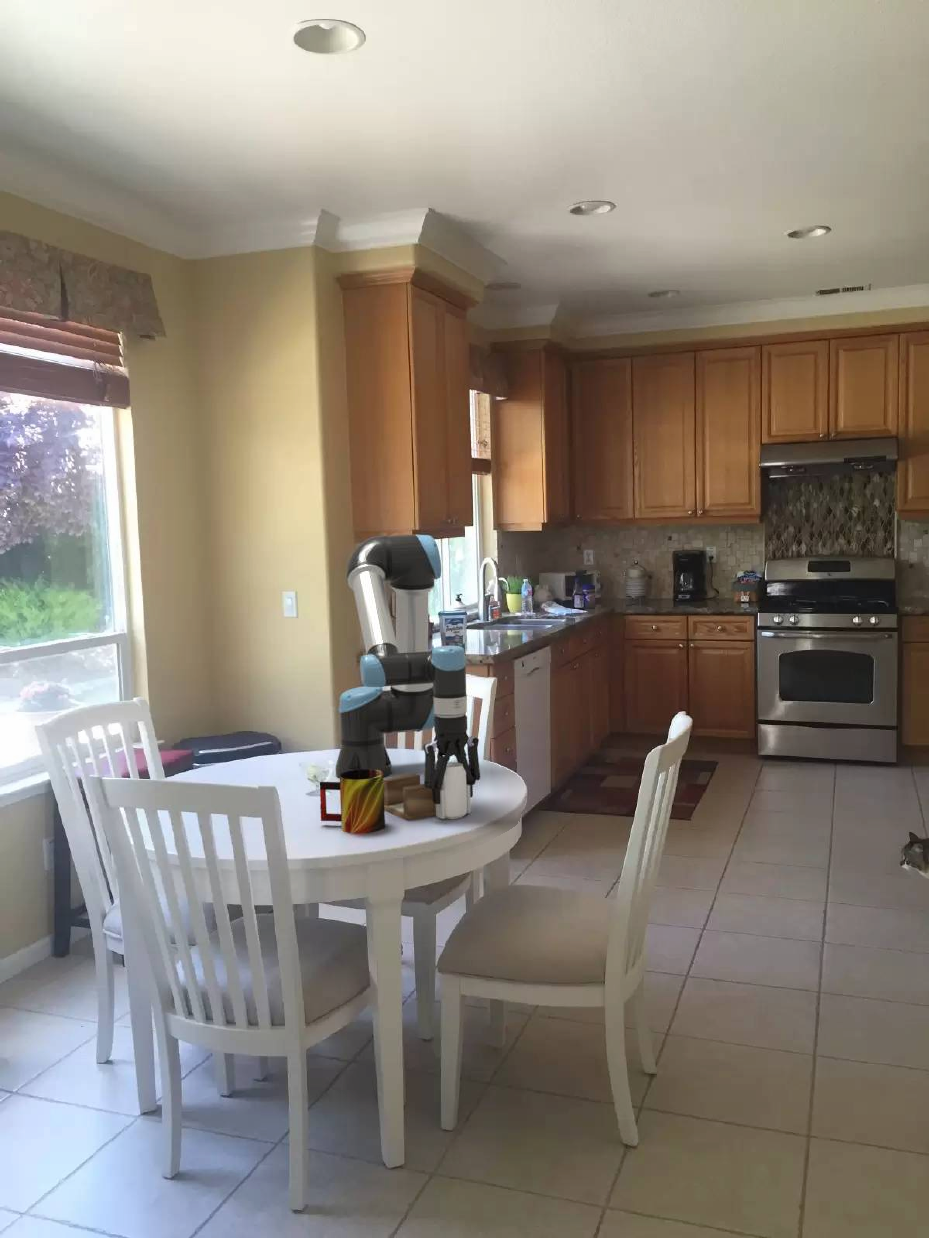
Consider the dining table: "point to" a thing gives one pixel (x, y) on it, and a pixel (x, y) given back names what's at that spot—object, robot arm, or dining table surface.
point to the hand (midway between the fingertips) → (453, 814)
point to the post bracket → (408, 797)
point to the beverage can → (455, 790)
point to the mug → (357, 801)
